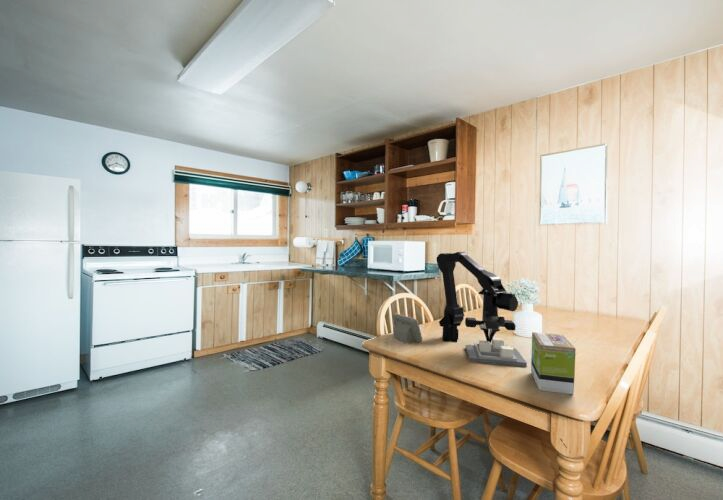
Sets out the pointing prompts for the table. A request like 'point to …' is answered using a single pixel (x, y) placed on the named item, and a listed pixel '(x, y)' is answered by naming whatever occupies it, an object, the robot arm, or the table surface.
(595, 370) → the table surface
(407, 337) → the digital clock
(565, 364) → the tea box
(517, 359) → the switch bank
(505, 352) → the tab
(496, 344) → the tab
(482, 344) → the white cube block
